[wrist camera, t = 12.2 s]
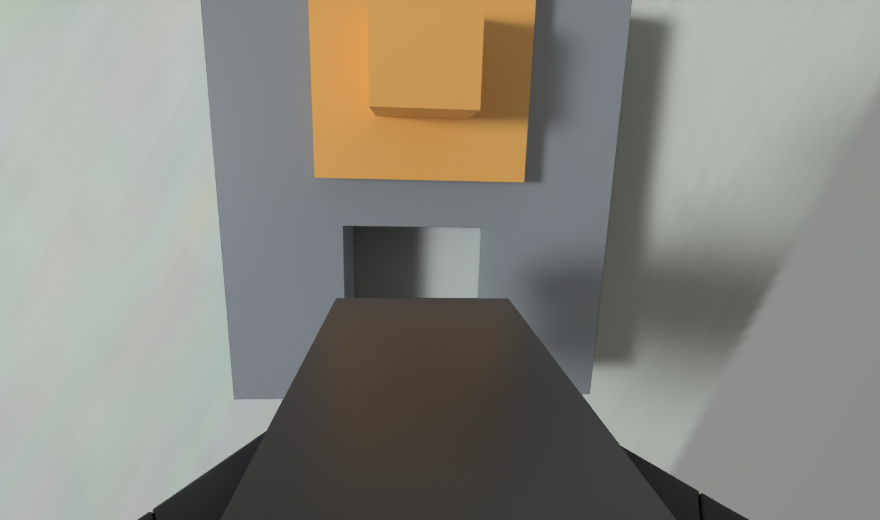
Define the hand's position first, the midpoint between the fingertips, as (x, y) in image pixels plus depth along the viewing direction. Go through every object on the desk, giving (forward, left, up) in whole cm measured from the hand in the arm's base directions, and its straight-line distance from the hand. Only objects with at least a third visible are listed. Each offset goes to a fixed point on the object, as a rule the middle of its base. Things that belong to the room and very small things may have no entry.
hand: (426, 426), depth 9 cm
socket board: (+4, 0, -11) cm, 12 cm away
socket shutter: (+8, 0, -8) cm, 11 cm away
